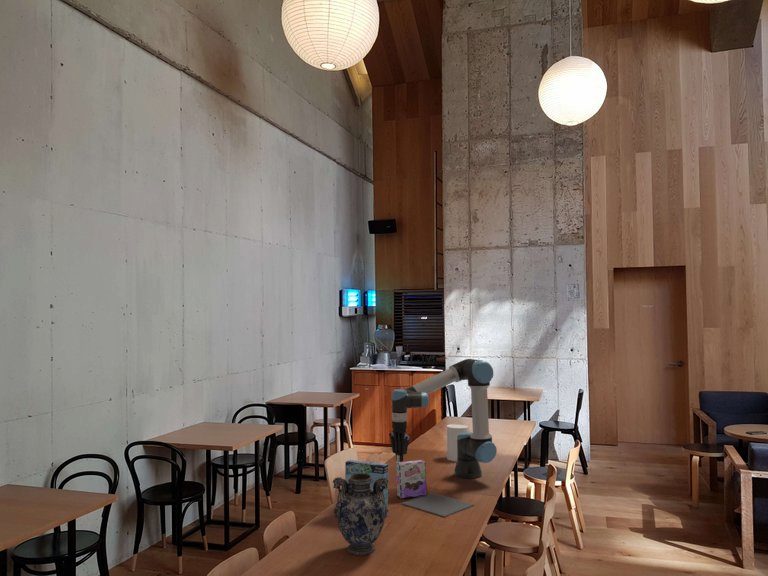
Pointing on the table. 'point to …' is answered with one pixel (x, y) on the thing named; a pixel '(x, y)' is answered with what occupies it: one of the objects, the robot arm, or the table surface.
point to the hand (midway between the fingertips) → (399, 467)
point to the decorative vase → (360, 511)
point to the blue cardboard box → (367, 468)
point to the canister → (454, 439)
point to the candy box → (411, 479)
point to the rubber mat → (438, 504)
